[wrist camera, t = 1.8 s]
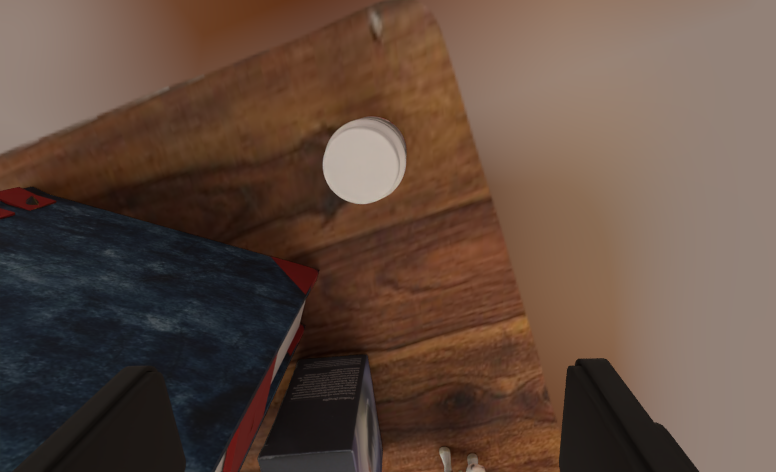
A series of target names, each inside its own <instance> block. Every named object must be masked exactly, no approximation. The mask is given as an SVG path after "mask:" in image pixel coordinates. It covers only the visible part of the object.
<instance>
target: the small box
mask: <svg viewBox="0 0 776 472" xmlns="http://www.w3.org/2000/svg"><path fill="white" fill-rule="evenodd" d="M382 455H383V448H382V442H381V436H380V430H379V423H378V417H377V410H376V404H375V397H374V391H373V385H372V379H371V372H370V367H369V361H368V356H367V355H366V354H365V355H349V356H336V357H325V358H313V359H302V360H298V362H297V364H296V367H295V370H294V373H293V375H292V378H291V381H290V383H289V386H288V389H287V391H286V393H285V396H284V398H283V401H282V403H281V406H280V408H279V411H278V413H277V416H276V418H275V421H274V423H273V425H272V428H271V430H270V433H269V435H268V437H267V439H266V441H265V444H264V446H263V448H262V449H261V451H260V453H259V456H258V462H259V466H260V470H261V472H382Z"/></svg>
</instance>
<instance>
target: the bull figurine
mask: <svg viewBox="0 0 776 472" xmlns="http://www.w3.org/2000/svg"><path fill="white" fill-rule="evenodd" d="M439 453H440V456H441V458H442V461H443V464H444V472H453V471H452V469H451V455H450V449H449V448H447V447H441V448H440V449H439ZM467 460H468V467H467V469H466V472H485V468H484V467H483V466H481V465H478V457H477V455H476V454H473V453H471V454H469V455H468V457H467ZM459 472H463V471H461V470H459Z"/></svg>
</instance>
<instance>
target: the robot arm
mask: <svg viewBox="0 0 776 472" xmlns="http://www.w3.org/2000/svg"><path fill="white" fill-rule="evenodd" d="M559 467H560V472H699V471H698V469H697V468H696V467H695V466H694V464H693V463H692V462H691V460H690V459H689V458H688V456H687V455H686V454H685V453H684V451H683V450H682V449H681V447H680V446H679V445H678V443H677V442H676V441H675V439H674V438H673V437H672V436H671V434H670V433H669V432H668V431H667V430H666V429H665V428H664V427H663V425H661V424H658V423H654V422H653V420H652V419H651V418H650V416H649V415H648V414H647V412H646V411H645V410H644V408H643V407H642V406H641V404H640V403H639V402H638V400H637V399H636V397H635V396H634V395H633V394H632V392H631V391H630V389H629V388H628V387H627V385H626V384H625V383H624V381H623V380H622V379H621V377H620V376H619V375H618V373H617V372H616V371H615V369H614V368H613V367H612V365H611V364H610V363H609V361H608V360H607V359H604V358H599V359H598V358H597V359H578V360H576V363H575V366H569V367H568V369H567V376H566V388H565V399H564V410H563V422H562V433H561V444H560V455H559ZM185 468H186V459H185V455H184V451H183V447H182V444H181V440H180V436H179V432H178V429H177V425H176V421H175V417H174V414H173V410H172V406H171V402H170V399H169V395H168V391H167V388H166V384H165V380H164V377H163V374H162V373H161V372H158V371H157V369H156V368H155V367H154V366H127V367H125V368H123V369H122V370H121V371H120V372H118V373H117V374H116V375H115V376H114V377H113V378H112V379H111V380H110V381H109V382H108V383H107V384H106V385H105V386H103V387H102V388H101V389H100V390H99V391H98V392H97V393H96V394H95V395H94V396H93V397H92V398H91V399H89V400H88V401H87V402H86V403H85V404H84V405H83V406H82V407H81V408H80V409H79V410H78V411H77V412H76V413H74V414H73V415H72V416H71V417H70V418H69V419H68V420H67V421H66V422H65V423H64V424H63V425H62V426H60V427H59V428H58V429H57V430H56V431H55V432H54V433H53V434H52V435H51V436H50V437H49V438H48V439H46V440H45V441H44V442H43V443H42V444H41V445H40V446H39V447H38V448H37V449H36V450H35V451H34V452H33V453H31V454H30V455H29V456H28V457H27V458H26V459H25V460H24V461H23V462H22V463H21V464H20V465H19V466H17V467H16V468H15V469H14V470H13V471H12V472H185Z"/></svg>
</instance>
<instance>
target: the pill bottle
mask: <svg viewBox="0 0 776 472" xmlns="http://www.w3.org/2000/svg"><path fill="white" fill-rule="evenodd" d="M406 154H407V149H406V143H405V140H404V137H403V135H402V133H401V132H400V130H399V129H398V128H397V127H396V126H395V125H394V124H393V123H392V122H390V121H388V120H386V119H384V118H381V117H375V116H368V117H363V118H360V119H357V120H353V121H351V122H348V123H346V124H345V125H343V126H342V127H340V128H339V129H338V130H337V131H336V132H335V133H334V134H333V135H332V137H331V138H330V140H329V142H328V144H327V147H326V150H325V153H324V157H323V172H324V176H325V179H326V181H327V183H328V185H329V187H330V188H331V189H332V191H333V192H334V193H335V194H336V195H338V196H339V197H340V198H342V199H344V200H346V201H348V202H351V203H355V204H368V203H372V202H376V201H378V200H380V199H382V198H384V197H386V196H388V195H389V194H391V193H392V192H393V191H394V190H395V189H396V188H397V186H398V185H399V184H400V182H401V180H402V178H403V176H404V173H405V168H406Z"/></svg>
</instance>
